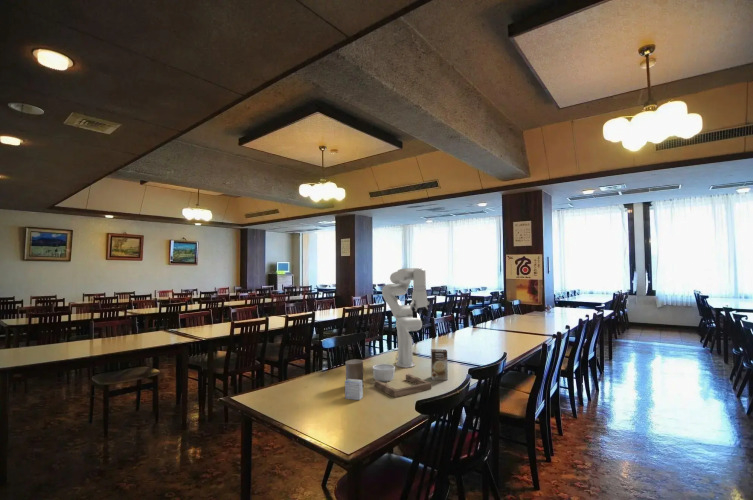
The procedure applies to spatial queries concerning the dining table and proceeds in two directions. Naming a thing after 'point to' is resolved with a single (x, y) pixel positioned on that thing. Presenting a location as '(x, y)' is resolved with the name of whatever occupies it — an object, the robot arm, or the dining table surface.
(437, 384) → the dining table surface
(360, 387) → the medicine box
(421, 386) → the display stand
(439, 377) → the coffee box
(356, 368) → the pillar candle
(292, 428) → the dining table surface
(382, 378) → the ramekin
